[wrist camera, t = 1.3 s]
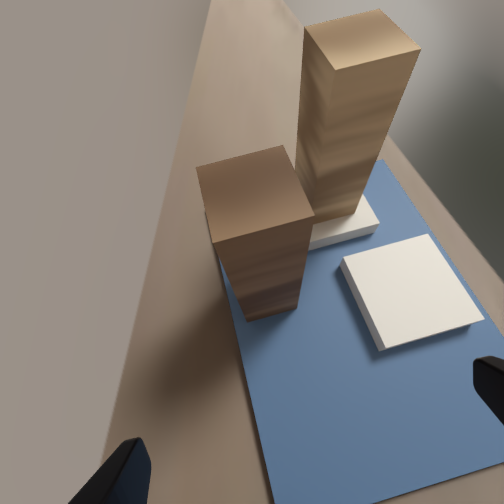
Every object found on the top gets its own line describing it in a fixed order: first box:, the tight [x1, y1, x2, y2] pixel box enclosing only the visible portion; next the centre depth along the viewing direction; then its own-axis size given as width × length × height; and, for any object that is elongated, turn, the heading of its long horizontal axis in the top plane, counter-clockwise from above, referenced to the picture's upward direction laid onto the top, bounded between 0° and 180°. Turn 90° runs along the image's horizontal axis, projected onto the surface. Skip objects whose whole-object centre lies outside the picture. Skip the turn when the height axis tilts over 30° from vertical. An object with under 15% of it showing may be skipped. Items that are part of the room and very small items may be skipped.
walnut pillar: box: [196, 145, 315, 323], centre depth 17 cm, size 4×4×12 cm
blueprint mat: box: [219, 159, 504, 504], centre depth 21 cm, size 24×18×2 cm
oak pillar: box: [295, 9, 421, 224], centre depth 19 cm, size 4×4×12 cm
